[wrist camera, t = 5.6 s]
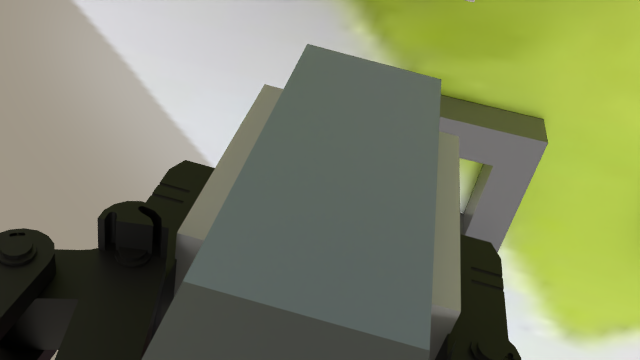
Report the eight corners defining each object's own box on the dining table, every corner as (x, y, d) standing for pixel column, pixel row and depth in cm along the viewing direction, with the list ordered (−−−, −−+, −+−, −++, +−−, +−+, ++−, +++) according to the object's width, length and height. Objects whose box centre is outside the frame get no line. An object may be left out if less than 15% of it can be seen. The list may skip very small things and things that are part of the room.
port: (369, 78, 35) (351, 137, 30) (543, 119, 34) (556, 187, 29) (339, 210, 41) (319, 279, 36) (486, 247, 40) (488, 323, 35)
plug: (307, 43, 18) (126, 386, 8) (441, 79, 18) (424, 472, 8) (284, 155, 20) (124, 526, 10) (403, 187, 20) (353, 595, 10)
